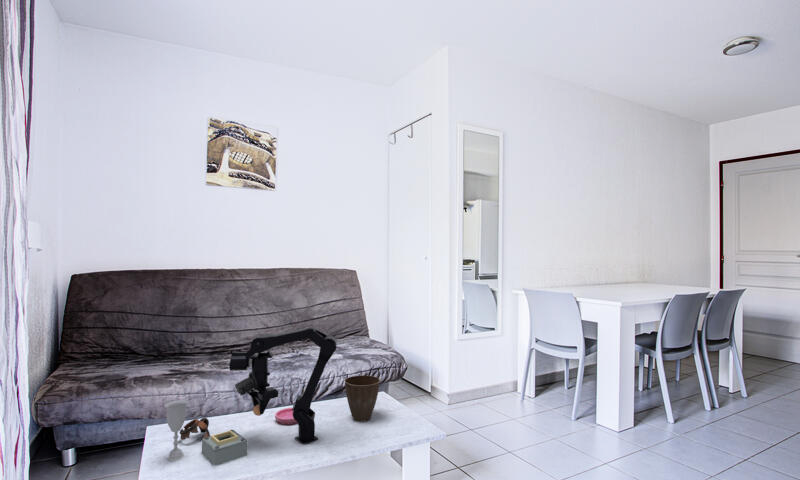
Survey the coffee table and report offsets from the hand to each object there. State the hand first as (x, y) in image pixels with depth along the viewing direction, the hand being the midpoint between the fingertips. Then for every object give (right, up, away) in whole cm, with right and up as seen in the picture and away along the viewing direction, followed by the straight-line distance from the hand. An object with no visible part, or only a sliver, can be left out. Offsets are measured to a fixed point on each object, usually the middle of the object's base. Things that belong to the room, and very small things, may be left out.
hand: (259, 412), depth 158 cm
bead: (0, -1, 0) cm, 1 cm away
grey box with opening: (-9, -10, -10) cm, 17 cm away
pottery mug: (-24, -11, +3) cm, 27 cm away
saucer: (+6, -12, +21) cm, 25 cm away
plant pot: (+36, -12, +23) cm, 44 cm away
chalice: (-24, -11, -12) cm, 29 cm away
